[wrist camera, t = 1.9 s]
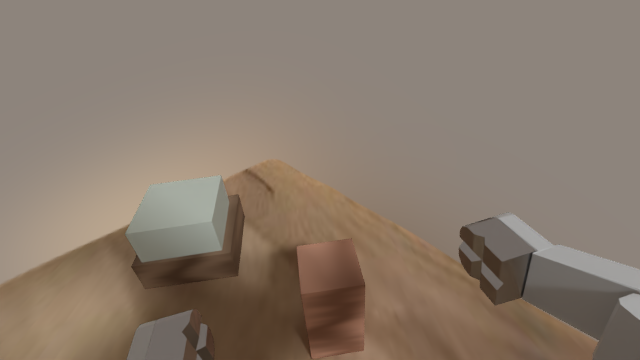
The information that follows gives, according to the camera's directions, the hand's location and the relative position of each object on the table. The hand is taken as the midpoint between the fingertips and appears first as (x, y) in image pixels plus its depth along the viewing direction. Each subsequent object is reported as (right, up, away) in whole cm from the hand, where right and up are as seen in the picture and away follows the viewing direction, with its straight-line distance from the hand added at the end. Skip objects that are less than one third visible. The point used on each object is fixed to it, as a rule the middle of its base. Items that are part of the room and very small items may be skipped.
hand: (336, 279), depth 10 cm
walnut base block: (-17, -7, +33) cm, 38 cm away
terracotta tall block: (+1, -12, +23) cm, 26 cm away
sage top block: (-17, -3, +30) cm, 35 cm away
